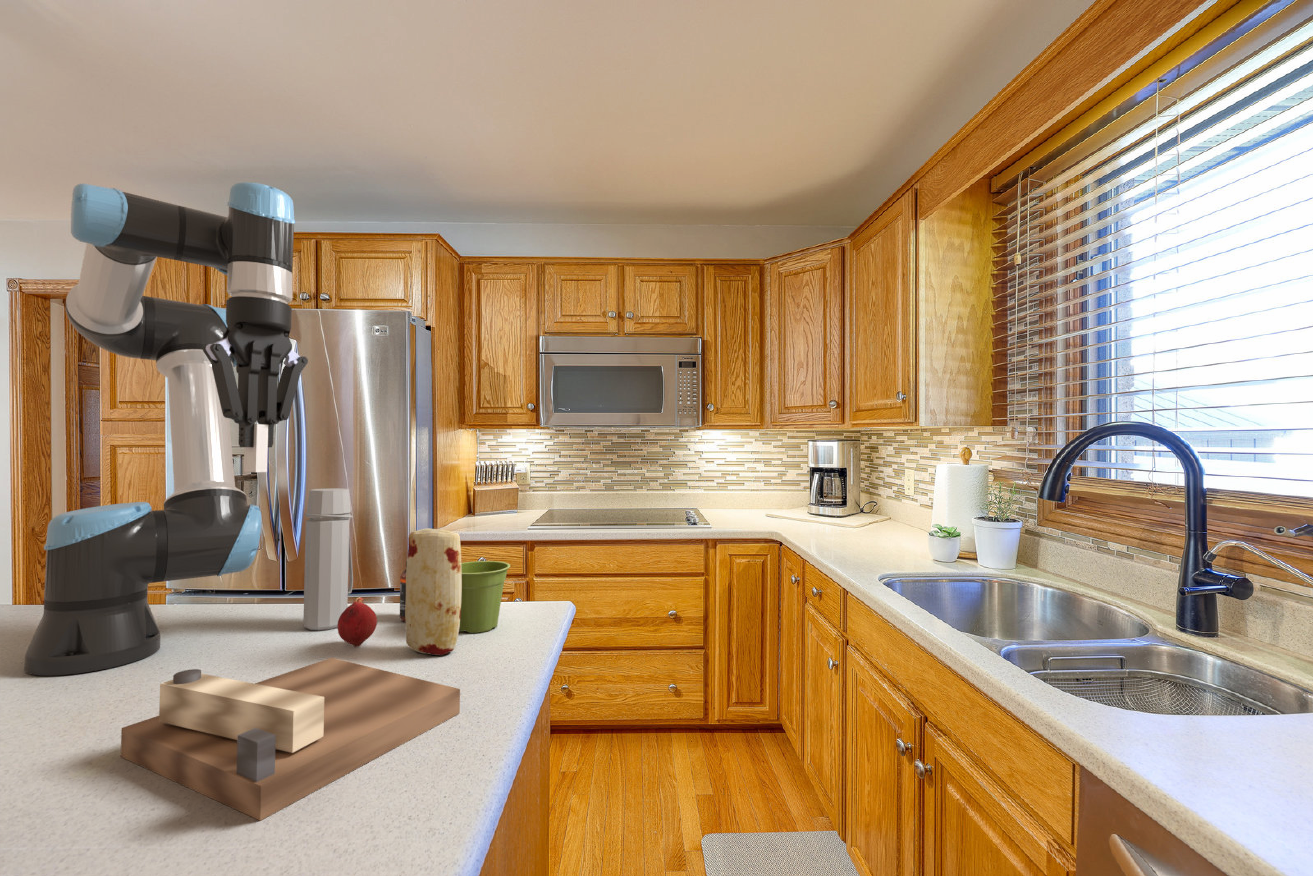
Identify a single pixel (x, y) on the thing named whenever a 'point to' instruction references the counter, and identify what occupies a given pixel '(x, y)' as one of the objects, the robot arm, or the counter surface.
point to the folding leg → (241, 709)
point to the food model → (433, 591)
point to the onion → (357, 623)
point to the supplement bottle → (403, 595)
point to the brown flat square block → (267, 780)
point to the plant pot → (481, 594)
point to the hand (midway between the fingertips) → (255, 471)
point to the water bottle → (327, 558)
